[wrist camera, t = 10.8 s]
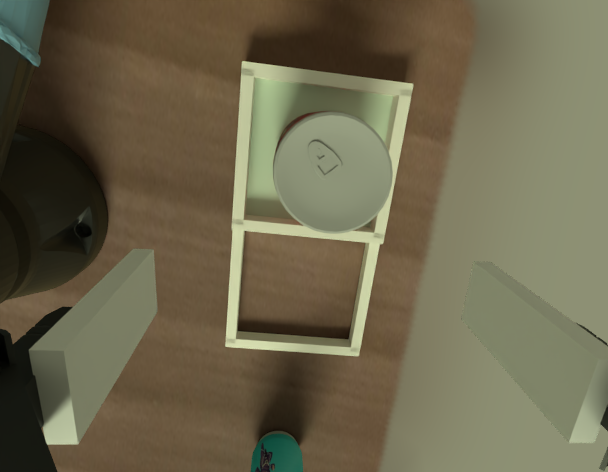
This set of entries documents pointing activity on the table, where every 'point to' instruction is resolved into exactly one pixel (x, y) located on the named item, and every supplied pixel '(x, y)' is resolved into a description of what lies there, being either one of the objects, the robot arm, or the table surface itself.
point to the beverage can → (277, 454)
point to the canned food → (332, 171)
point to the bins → (261, 190)
